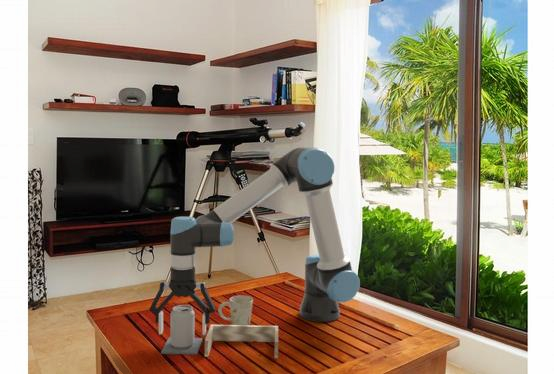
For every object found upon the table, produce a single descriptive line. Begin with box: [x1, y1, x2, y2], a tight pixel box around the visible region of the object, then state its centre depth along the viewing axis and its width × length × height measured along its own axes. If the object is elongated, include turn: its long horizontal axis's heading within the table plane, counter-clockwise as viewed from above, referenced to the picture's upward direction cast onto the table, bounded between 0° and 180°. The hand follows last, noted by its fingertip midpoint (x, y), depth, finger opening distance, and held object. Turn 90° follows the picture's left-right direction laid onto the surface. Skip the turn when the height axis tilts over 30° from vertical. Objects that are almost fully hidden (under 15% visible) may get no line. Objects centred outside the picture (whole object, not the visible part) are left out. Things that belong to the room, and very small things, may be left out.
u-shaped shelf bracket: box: [204, 324, 279, 359], centre depth 151 cm, size 22×13×5 cm, turn 90°
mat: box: [160, 336, 204, 355], centre depth 151 cm, size 11×11×1 cm
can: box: [169, 304, 196, 349], centre depth 151 cm, size 8×8×12 cm
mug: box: [218, 295, 254, 325], centre depth 169 cm, size 8×13×10 cm, turn 78°
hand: (182, 333), depth 151 cm, fingers open, 13 cm apart
